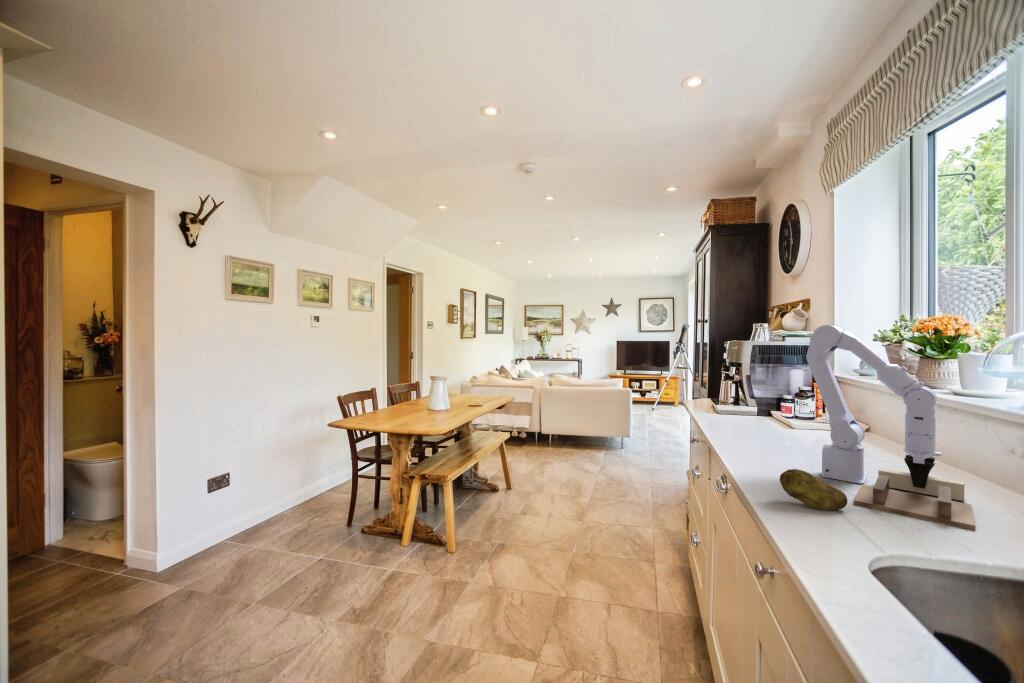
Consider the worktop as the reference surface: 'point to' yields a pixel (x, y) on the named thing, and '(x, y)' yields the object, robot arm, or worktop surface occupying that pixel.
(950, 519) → the wooden board stand
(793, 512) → the worktop surface
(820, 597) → the worktop surface
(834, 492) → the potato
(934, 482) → the clay bar
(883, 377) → the robot arm
